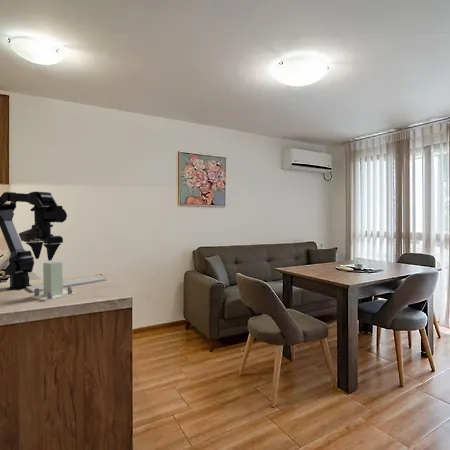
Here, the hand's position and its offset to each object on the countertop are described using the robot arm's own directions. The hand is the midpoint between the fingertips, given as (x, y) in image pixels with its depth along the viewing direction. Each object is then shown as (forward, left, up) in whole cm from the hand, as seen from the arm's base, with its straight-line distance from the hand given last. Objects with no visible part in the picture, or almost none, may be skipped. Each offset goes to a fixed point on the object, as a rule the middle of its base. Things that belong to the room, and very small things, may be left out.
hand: (43, 259), depth 126 cm
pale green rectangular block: (+9, -7, -12) cm, 17 cm away
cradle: (+9, -6, -13) cm, 17 cm away
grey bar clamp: (+2, +12, -14) cm, 19 cm away
